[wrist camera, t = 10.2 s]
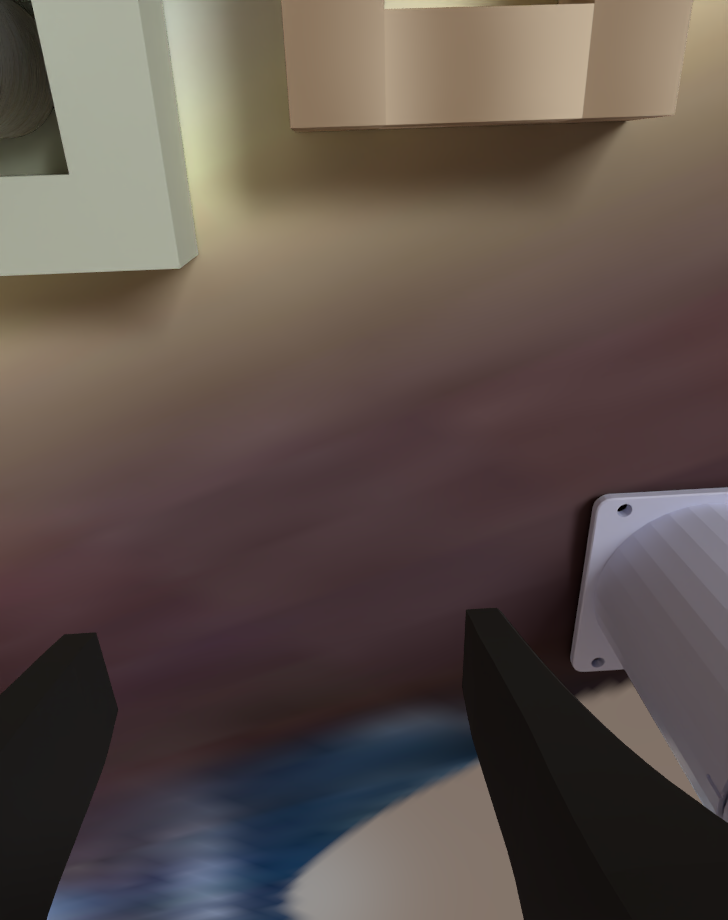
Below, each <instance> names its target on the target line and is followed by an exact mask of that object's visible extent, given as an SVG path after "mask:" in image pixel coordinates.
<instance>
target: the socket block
mask: <svg viewBox="0 0 728 920" xmlns="http://www.w3.org/2000/svg"><path fill="white" fill-rule="evenodd" d="M692 5H693V0H558V4H554V5H518V6H482V7H446V8H409V9H384V0H281V7H282V20H283V34H284V47H285V61H286V74H287V88H288V101H289V115H290V128H291V129H292V130H293V131H295V132H312V131H342V130H371V129H400V128H429V127H458V126H487V125H516V124H545V123H575V122H604V121H629V120H638V119H646V118H655V117H663V116H671V115H675V109H676V103H677V97H678V90H679V84H680V78H681V72H682V66H683V60H684V54H685V48H686V42H687V36H688V29H689V23H690V17H691V11H692Z"/></svg>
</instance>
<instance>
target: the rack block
mask: <svg viewBox="0 0 728 920" xmlns="http://www.w3.org/2000/svg"><path fill="white" fill-rule="evenodd" d="M31 2H32V6H33V11H34V15H35V20H36V25H37V29H38V34H39V38H40V43H41V48H42V52H43V57H44V61H45V66H46V70H47V75H48V80H49V84H50V89H51V93H52V98H53V102H54V107H55V112H56V116H57V121H58V125H59V130H60V135H61V139H62V144H63V148H64V153H65V157H66V162H67V167H68V171H69V174H45V175H18V176H0V276H13V275H37V274H61V273H85V272H109V271H133V270H157V269H180V268H181V267H183V266H184V265H185V264H187V263H188V262H189V261H191V260H192V259H193V258H194V257H196V256H197V255H198V248H197V241H196V234H195V227H194V220H193V213H192V206H191V199H190V192H189V185H188V178H187V171H186V164H185V157H184V150H183V143H182V136H181V129H180V122H179V115H178V108H177V101H176V94H175V87H174V80H173V73H172V66H171V59H170V52H169V45H168V38H167V31H166V24H165V17H164V10H163V3H162V0H31Z"/></svg>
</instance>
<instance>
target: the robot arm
mask: <svg viewBox="0 0 728 920" xmlns="http://www.w3.org/2000/svg"><path fill="white" fill-rule="evenodd" d="M624 504H627V506H626V508H625V509H624V510H622V511H617V510H618V508H619V507H620V506H621V505H624ZM595 658H598V659H597V660H594V659H595ZM570 661H571V663H572V666H573V667H574V669H575V670H577V671H579V672H590V671H605V670H621V669H624V670H625V671H626V673H627V675H628V677H629V678H630V680H631V682H632V683H633V685H634V687H635V689H636V690H637V692H638V694H639V695H640V697H641V699H642V700H643V702H644V704H645V706H646V707H647V709H648V711H649V712H650V714H651V716H652V718H653V720H654V721H655V723H656V725H657V726H658V728H659V730H660V731H661V733H662V735H663V737H664V738H665V740H666V742H667V744H668V745H669V747H670V749H671V750H672V752H673V754H674V756H675V757H676V759H677V761H678V762H679V764H680V766H681V768H682V769H683V771H684V773H685V774H686V776H687V778H688V780H689V781H690V783H691V785H692V787H693V788H694V790H695V792H696V793H697V795H698V797H699V798H700V800H701V802H702V804H703V805H704V806H703V805H702V804H700V803H699V802H698V801H696V800H695V799H694V798H692V797H691V796H690V795H688V794H686V793H685V792H684V791H683V790H681V789H680V788H678V787H677V786H676V785H674V784H673V783H671V782H670V781H669V780H668V779H666V778H665V777H664V776H663V775H661V774H660V773H659V772H658V771H656V770H655V769H654V768H652V767H651V766H650V765H649V764H647V763H646V762H645V761H644V760H643V759H642V758H640V757H639V756H638V755H637V754H635V753H634V752H633V751H632V750H631V749H630V748H629V747H627V746H626V745H625V744H624V743H623V742H622V741H621V740H619V739H618V738H617V737H616V736H615V735H614V734H613V733H612V732H610V730H609V729H607V728H606V727H605V726H604V725H603V724H602V723H601V722H600V721H599V720H598V719H597V718H596V717H595V716H594V715H593V714H592V713H591V712H590V711H589V710H588V709H587V708H586V707H585V706H584V705H583V704H582V703H581V702H580V701H579V700H578V699H577V698H576V697H575V696H574V695H573V694H572V693H571V692H570V691H569V690H568V689H567V688H566V687H565V686H564V685H563V684H562V682H561V681H560V680H559V679H558V678H557V677H556V676H555V675H554V674H553V673H552V672H551V671H550V669H549V668H548V667H547V666H546V665H545V664H544V663H543V662H542V661H541V659H540V658H539V657H538V656H537V655H536V654H535V652H534V651H533V650H532V649H531V648H530V647H529V645H528V644H527V643H526V642H525V641H524V639H523V638H522V637H521V636H520V635H519V633H518V632H517V631H516V630H515V628H514V627H513V626H512V625H511V623H510V622H509V621H508V620H507V618H506V617H505V616H504V614H503V613H502V612H501V611H500V610H499V609H498V608H486V609H470V610H466V621H465V641H464V661H463V681H462V688H463V694H464V699H465V704H466V710H467V715H468V720H469V725H470V730H471V735H472V739H473V742H474V745H475V749H476V752H477V755H478V758H479V762H480V765H481V768H482V771H483V775H484V778H485V781H486V784H487V787H488V791H489V794H490V797H491V800H492V803H493V807H494V810H495V813H496V816H497V819H498V822H499V826H500V829H501V832H502V835H503V838H504V841H505V845H506V848H507V851H508V855H509V859H510V862H511V866H512V870H513V873H514V877H515V881H516V885H517V890H518V895H519V899H520V904H521V908H522V913H523V918H524V920H728V487H725V488H707V489H689V490H672V491H654V492H636V493H618V494H606V495H603V496H601V497H599V498H598V499H597V500H596V501H595V502H594V505H593V508H592V515H591V521H590V528H589V535H588V541H587V548H586V555H585V562H584V568H583V575H582V582H581V588H580V595H579V602H578V608H577V615H576V622H575V628H574V635H573V642H572V649H571V655H570ZM117 712H118V708H117V704H116V701H115V697H114V694H113V690H112V687H111V683H110V680H109V676H108V673H107V669H106V666H105V662H104V659H103V655H102V652H101V648H100V645H99V641H98V638H97V634H96V633H81V634H65V635H63V636H62V637H61V638H60V639H59V640H58V641H57V642H55V643H54V644H53V645H52V646H51V647H50V648H49V649H48V650H47V651H46V652H45V653H44V654H43V655H42V656H41V657H39V658H38V659H37V660H36V661H35V662H34V663H33V664H32V665H31V666H30V667H29V668H28V669H27V670H26V671H25V672H24V673H23V674H22V675H21V676H20V677H19V678H18V679H16V680H15V681H14V682H13V683H12V684H11V685H10V686H9V687H8V688H7V689H6V690H5V691H4V692H3V693H2V694H1V695H0V920H47V916H48V913H49V910H50V907H51V904H52V901H53V898H54V896H55V893H56V890H57V887H58V884H59V881H60V879H61V876H62V874H63V871H64V869H65V866H66V863H67V861H68V858H69V856H70V853H71V850H72V848H73V845H74V843H75V840H76V837H77V835H78V832H79V830H80V827H81V824H82V822H83V819H84V817H85V814H86V812H87V809H88V806H89V804H90V801H91V798H92V796H93V793H94V791H95V788H96V785H97V783H98V780H99V777H100V775H101V772H102V769H103V766H104V764H105V760H106V757H107V753H108V749H109V745H110V741H111V737H112V733H113V729H114V725H115V720H116V716H117Z"/></svg>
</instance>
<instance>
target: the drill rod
mask: <svg viewBox="0 0 728 920" xmlns="http://www.w3.org/2000/svg"><path fill="white" fill-rule="evenodd" d="M53 106H54V102H53V98H52V93H51V89H50V84H49V80H48V75H47V70H46V66H45V61H44V57H43V52H42V48H41V43H40V38H39V34H38V29H37V25H36V21H35V20H34V19H33V18H32V17H31V16H30V14H29V13H28V12H27V11H25V10H24V9H23V8H22V7H21V6H20V5H19V4H17V3H16V2H14V1H13V0H0V138H15V137H20V136H23V135H26V134H29V133H30V132H32V131H34V130H36V129H37V128H38V127H39V126H41V125H42V124H43V122H44V121H45V120H46V119H47V118H48V116H49V114H50V113H51V111H52V109H53Z"/></svg>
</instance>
